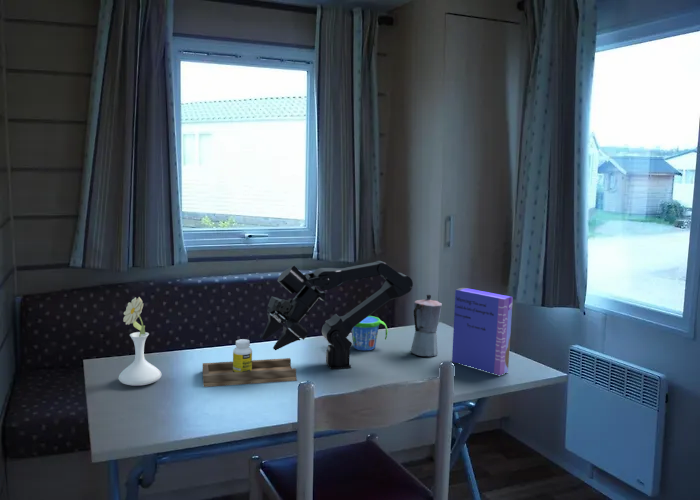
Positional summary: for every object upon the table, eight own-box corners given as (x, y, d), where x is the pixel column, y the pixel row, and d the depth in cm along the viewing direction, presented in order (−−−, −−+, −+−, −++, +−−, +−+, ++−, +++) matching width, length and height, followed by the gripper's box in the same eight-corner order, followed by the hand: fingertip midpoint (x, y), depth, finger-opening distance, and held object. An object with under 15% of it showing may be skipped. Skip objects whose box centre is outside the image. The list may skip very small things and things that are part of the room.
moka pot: (446, 351, 204) (449, 293, 202) (427, 362, 192) (430, 301, 189) (421, 345, 209) (423, 289, 207) (400, 357, 197) (403, 297, 194)
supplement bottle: (243, 378, 171) (243, 344, 170) (229, 374, 174) (228, 341, 173) (255, 372, 176) (255, 340, 175) (241, 369, 179) (241, 337, 177)
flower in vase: (118, 377, 172) (115, 291, 168) (159, 373, 176) (158, 289, 173) (119, 393, 160) (116, 301, 156) (163, 388, 164) (162, 299, 161)
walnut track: (289, 365, 185) (289, 357, 185) (296, 380, 173) (296, 371, 172) (202, 371, 179) (202, 362, 178) (203, 386, 166) (203, 377, 166)
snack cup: (338, 350, 202) (339, 321, 200) (345, 341, 212) (345, 313, 211) (384, 354, 199) (385, 324, 197) (388, 345, 209) (389, 317, 208)
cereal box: (507, 373, 184) (512, 296, 181) (499, 376, 181) (504, 298, 177) (460, 359, 196) (464, 287, 193) (451, 362, 193) (455, 288, 189)
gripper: (272, 279, 184) (238, 319, 181) (297, 295, 168) (260, 339, 165) (296, 300, 190) (263, 339, 187) (322, 318, 174) (287, 360, 171)
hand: (268, 343), depth 177 cm, fingers open, 9 cm apart
